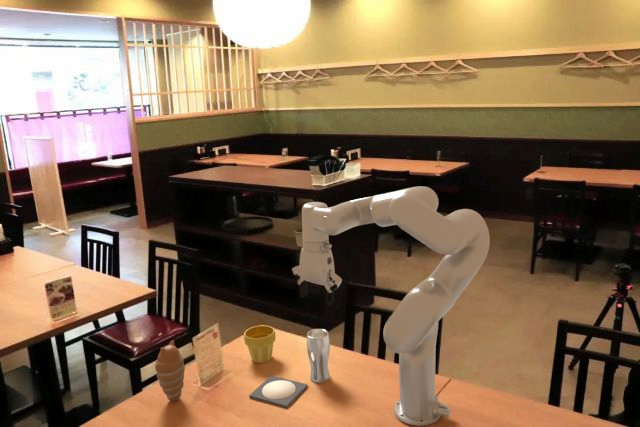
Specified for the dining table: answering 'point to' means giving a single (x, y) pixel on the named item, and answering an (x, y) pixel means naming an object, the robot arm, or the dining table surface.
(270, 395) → the mat
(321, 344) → the beer glass
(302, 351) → the dining table surface
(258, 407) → the dining table surface
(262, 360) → the plant pot
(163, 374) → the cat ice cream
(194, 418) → the dining table surface
